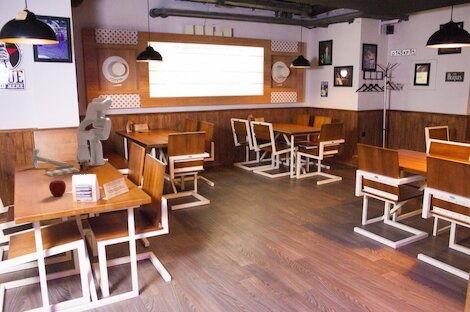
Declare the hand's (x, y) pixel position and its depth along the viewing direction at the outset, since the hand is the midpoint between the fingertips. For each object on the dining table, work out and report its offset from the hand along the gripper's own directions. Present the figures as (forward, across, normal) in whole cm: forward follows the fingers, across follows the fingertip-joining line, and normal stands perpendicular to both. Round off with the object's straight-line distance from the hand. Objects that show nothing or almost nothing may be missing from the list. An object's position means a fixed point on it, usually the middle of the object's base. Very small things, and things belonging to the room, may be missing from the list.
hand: (84, 168), depth 322 cm
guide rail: (-1, +18, -5) cm, 19 cm away
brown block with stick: (+1, 0, +3) cm, 3 cm away
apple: (+1, +48, +67) cm, 82 cm away
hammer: (+1, +16, -30) cm, 34 cm away
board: (+1, +18, 0) cm, 18 cm away
